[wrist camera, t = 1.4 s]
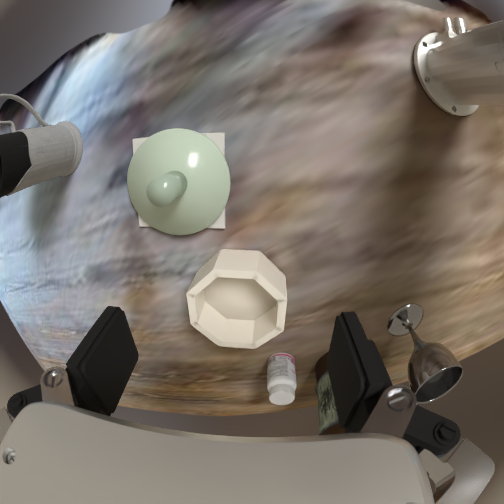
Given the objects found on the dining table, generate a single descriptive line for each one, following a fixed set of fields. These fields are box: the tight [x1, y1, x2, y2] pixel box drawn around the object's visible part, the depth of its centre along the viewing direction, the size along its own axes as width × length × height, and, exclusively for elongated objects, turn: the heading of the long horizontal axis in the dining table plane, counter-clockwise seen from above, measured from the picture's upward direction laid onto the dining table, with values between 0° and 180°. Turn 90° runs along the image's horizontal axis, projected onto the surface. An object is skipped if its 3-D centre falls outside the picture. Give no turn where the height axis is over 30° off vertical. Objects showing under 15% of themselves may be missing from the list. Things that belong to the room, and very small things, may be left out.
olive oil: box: [316, 352, 345, 435], centre depth 33 cm, size 11×11×25 cm
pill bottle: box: [267, 353, 297, 405], centre depth 41 cm, size 5×5×8 cm
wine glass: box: [388, 304, 463, 403], centre depth 33 cm, size 8×8×15 cm
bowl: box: [187, 249, 287, 349], centre depth 36 cm, size 12×12×6 cm
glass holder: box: [0, 94, 83, 198], centre depth 23 cm, size 9×14×15 cm, turn 11°
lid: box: [127, 129, 231, 235], centre depth 30 cm, size 14×14×6 cm
